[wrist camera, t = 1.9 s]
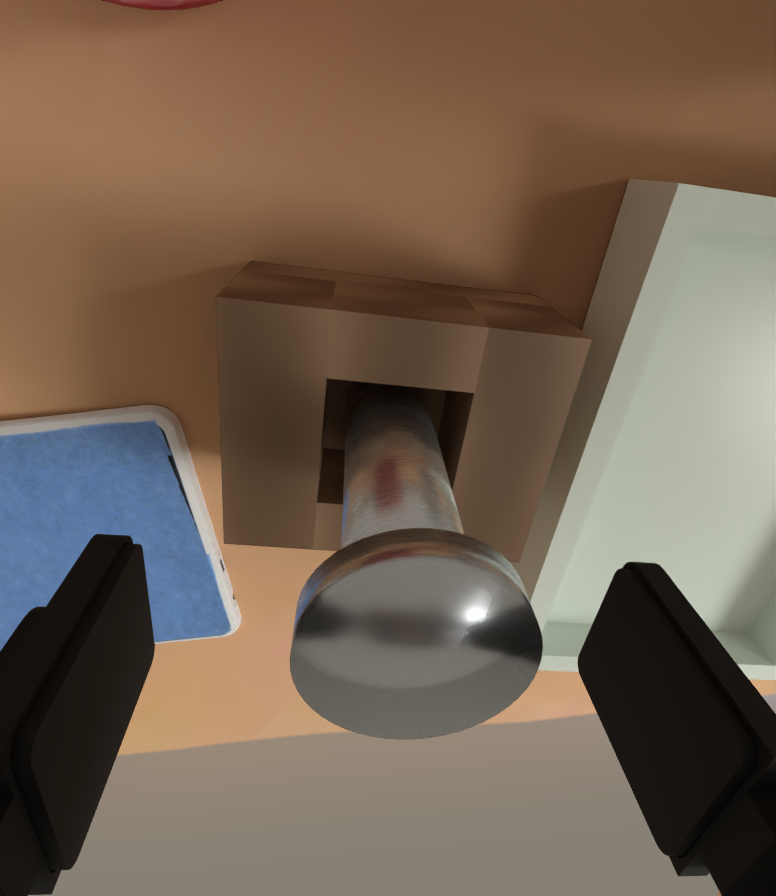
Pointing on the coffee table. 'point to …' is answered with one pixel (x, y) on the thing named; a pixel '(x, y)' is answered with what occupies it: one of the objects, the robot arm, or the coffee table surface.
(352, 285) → the hitch block
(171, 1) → the plant pot
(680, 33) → the coffee table surface
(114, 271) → the coffee table surface
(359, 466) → the pin
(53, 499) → the tablet computer
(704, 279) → the tray
